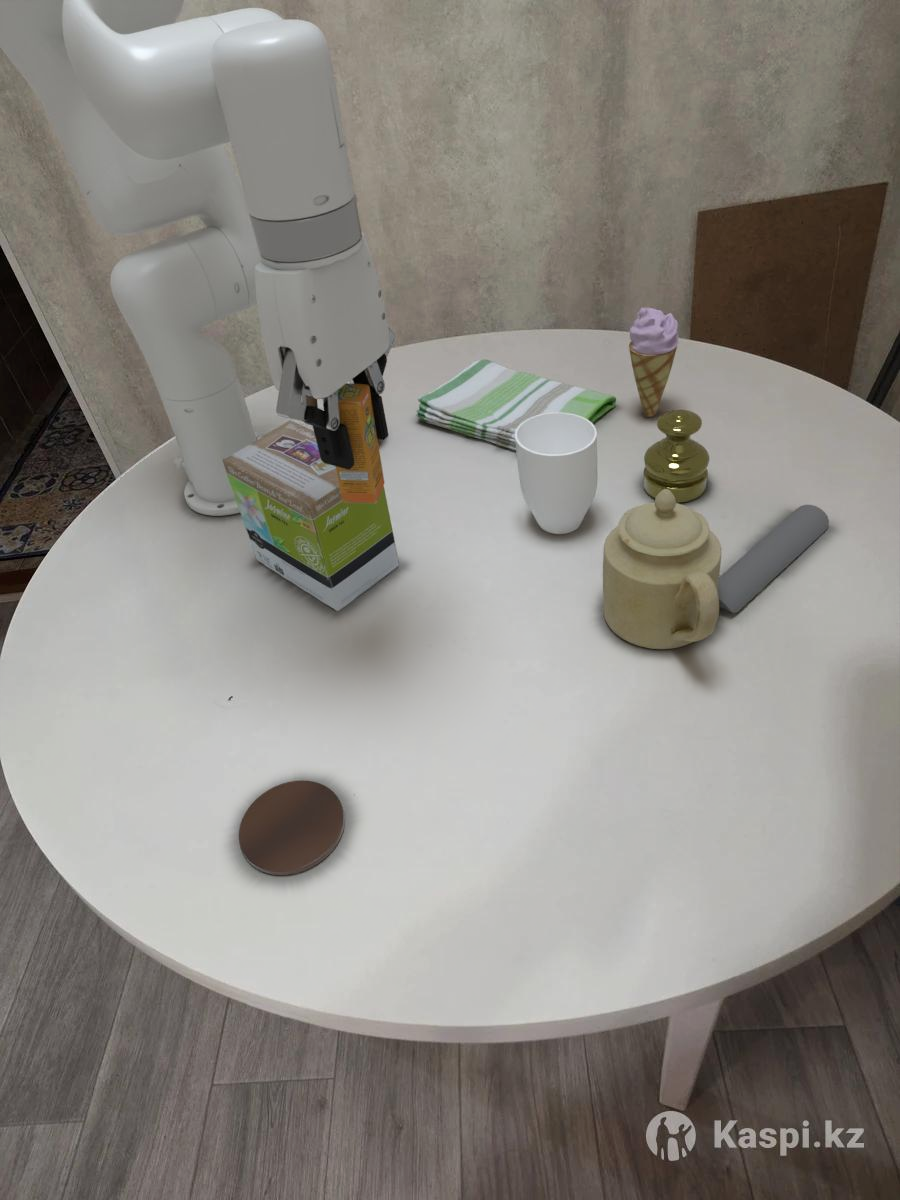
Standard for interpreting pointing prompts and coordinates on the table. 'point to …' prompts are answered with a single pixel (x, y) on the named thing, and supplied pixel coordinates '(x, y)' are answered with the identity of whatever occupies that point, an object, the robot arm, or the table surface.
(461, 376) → the dish towel
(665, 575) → the sugar bowl
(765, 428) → the table surface
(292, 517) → the tea box
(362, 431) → the supplement box
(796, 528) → the gray half cylinder
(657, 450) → the brass weight
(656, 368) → the ice cream cone
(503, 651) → the table surface
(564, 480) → the mug
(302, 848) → the coaster
